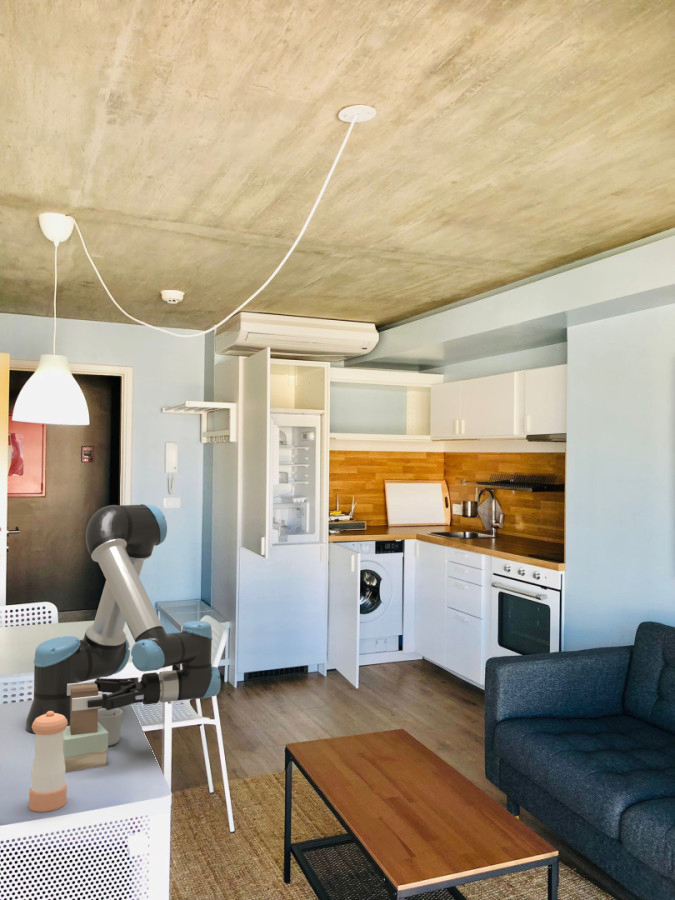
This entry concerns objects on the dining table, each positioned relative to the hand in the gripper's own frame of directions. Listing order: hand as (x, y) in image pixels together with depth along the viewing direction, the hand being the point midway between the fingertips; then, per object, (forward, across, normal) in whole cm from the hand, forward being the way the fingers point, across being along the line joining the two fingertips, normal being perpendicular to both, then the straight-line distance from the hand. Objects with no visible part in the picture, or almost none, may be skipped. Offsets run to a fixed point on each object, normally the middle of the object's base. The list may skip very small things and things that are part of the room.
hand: (69, 697), depth 177 cm
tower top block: (-3, 0, -12) cm, 13 cm away
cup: (-9, +12, -16) cm, 22 cm away
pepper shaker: (+6, -22, -16) cm, 28 cm away
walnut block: (-4, 0, -8) cm, 9 cm away
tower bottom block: (-3, 0, -16) cm, 17 cm away
